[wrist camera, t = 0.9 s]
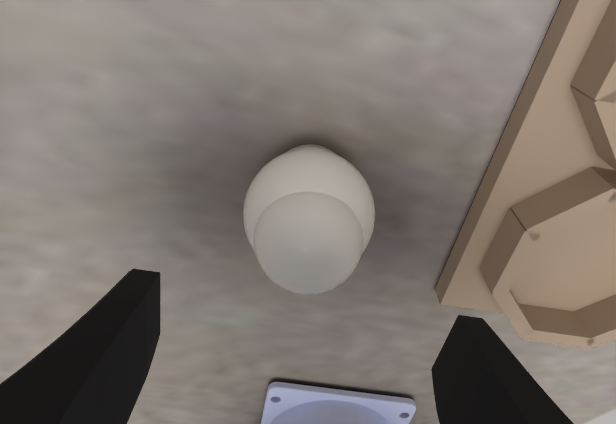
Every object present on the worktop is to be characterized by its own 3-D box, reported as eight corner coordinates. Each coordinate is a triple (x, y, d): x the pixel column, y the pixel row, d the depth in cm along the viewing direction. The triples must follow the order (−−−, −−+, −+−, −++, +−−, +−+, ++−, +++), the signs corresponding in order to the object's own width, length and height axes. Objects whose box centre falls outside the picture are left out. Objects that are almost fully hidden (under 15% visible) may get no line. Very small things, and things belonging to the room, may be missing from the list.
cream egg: (352, 232, 19) (365, 339, 14) (247, 216, 18) (222, 319, 14) (380, 135, 16) (406, 222, 12) (259, 113, 16) (235, 195, 11)
